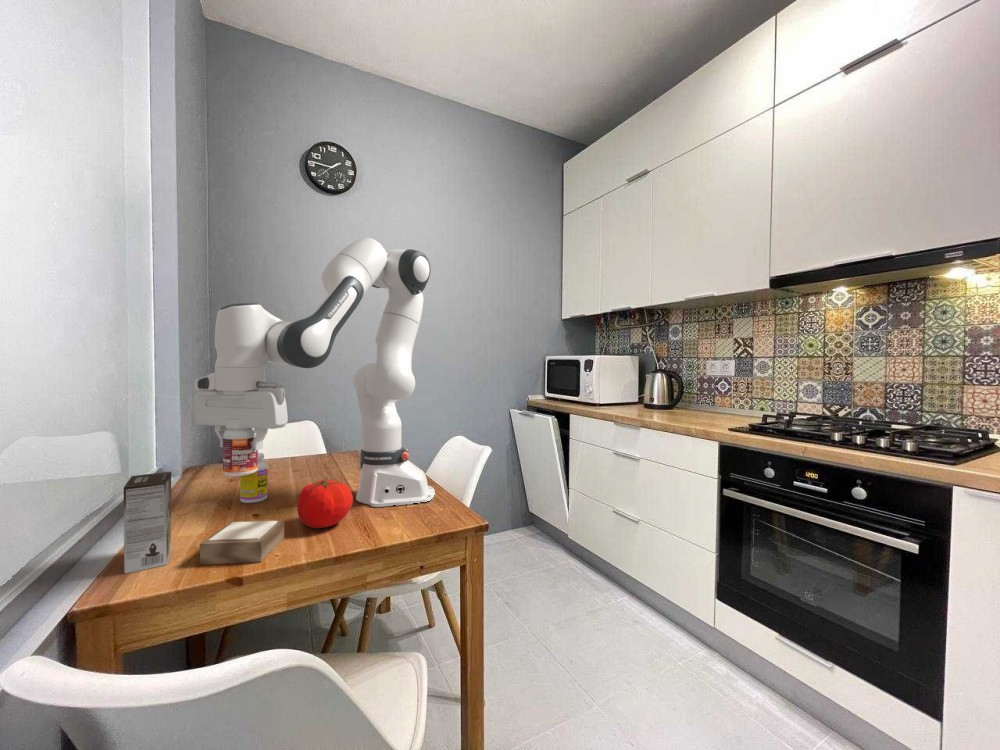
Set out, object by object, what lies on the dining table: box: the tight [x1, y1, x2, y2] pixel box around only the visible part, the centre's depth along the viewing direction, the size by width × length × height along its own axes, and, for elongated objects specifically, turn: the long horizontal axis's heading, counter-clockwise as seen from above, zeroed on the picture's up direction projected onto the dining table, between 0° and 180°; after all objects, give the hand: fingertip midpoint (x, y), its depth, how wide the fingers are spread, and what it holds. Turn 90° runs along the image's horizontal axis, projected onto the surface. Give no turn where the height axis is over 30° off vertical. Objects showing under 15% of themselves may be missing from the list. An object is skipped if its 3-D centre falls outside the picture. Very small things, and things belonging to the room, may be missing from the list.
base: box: [199, 520, 285, 566], centre depth 84 cm, size 11×11×4 cm
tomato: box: [296, 476, 354, 529], centre depth 98 cm, size 13×12×11 cm
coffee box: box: [123, 471, 173, 574], centre depth 79 cm, size 9×6×16 cm
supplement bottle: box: [239, 452, 269, 504], centre depth 115 cm, size 7×7×13 cm
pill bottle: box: [222, 419, 259, 477], centre depth 84 cm, size 6×6×11 cm
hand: (241, 448), depth 84 cm, fingers closed on pill bottle, 6 cm apart
